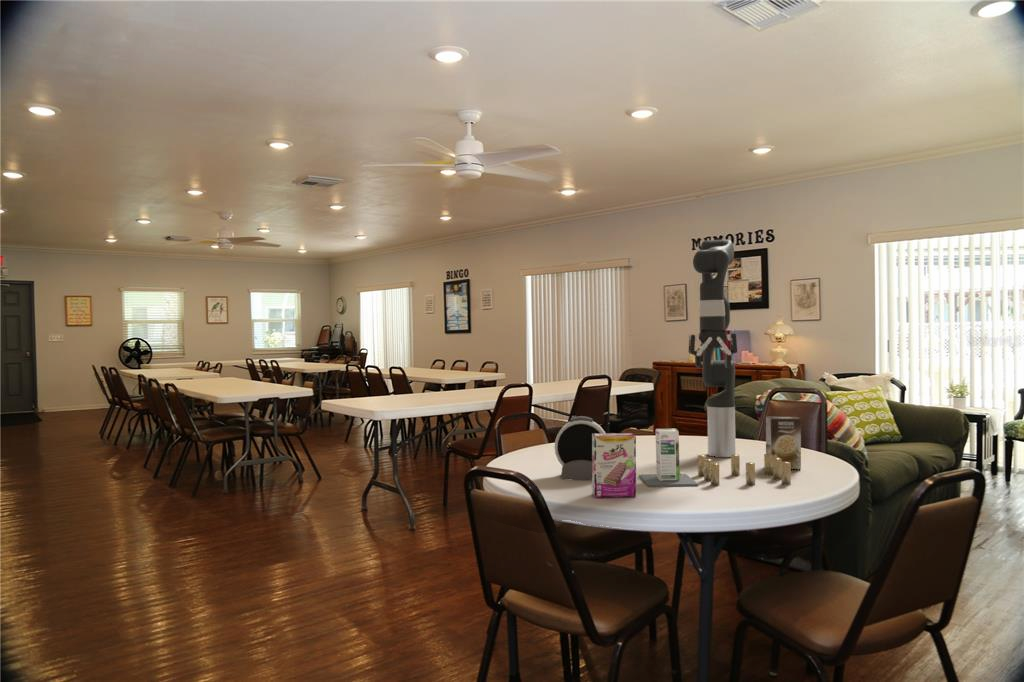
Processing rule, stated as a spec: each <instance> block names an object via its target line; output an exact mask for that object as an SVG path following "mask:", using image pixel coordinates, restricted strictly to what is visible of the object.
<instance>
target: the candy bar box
mask: <svg viewBox="0 0 1024 682" xmlns="http://www.w3.org/2000/svg"><path fill="white" fill-rule="evenodd" d="M636 436H637V435H635V434H634V433H621V432H620V433H606V434H592V480H591V490H592V492H591V493H592V495H593V497H594V498H597V499H598V498H600V499H601V498H603V499H604V498H606V499H607V498H610V499H611V498H636V496H637V459H636V457H637V453H636V452H637V450H636V449H637V447H636V446H637V444H636V443H637V442H636V441H637V439H636Z"/></svg>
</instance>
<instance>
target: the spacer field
mask: <svg viewBox="0 0 1024 682" xmlns="http://www.w3.org/2000/svg"><path fill="white" fill-rule="evenodd" d="M763 461H764V463H763V466H764V475H765V474H767V475H766V476H772V480H774V479H781V485H784V484H790V485H791V484H792V481H791V479H792V477H791V472H792V470H791V466H790V462H781V458H773V455H772V454H766V453H765V454H764V456H763ZM730 462H731V463H730V468H731V469H730V474H731V476H733V475H735V476H736V475H739V476H740V475H741V473H740V454H732V455H731V457H730ZM772 474H773V475H772ZM698 475H699V476H698ZM697 476H698V477H703V480H704V481H705V480H711V481H710V486H712V485H719V486H720V463H717V462H713V459H712V458H707V455H706V454H698V455H697ZM735 476H734V477H735ZM736 477H737V476H736ZM745 484H747V486H756V463H755V462H745Z"/></svg>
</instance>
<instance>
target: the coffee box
mask: <svg viewBox="0 0 1024 682" xmlns="http://www.w3.org/2000/svg"><path fill="white" fill-rule="evenodd" d="M765 454H772V455H773V458H781V462H790V466H791V469H798V470H797V471H800V470H799V469H801V470H802V418H800V417H796V416H775V415H774V416H769V415H768V416H767V415H766V416H765Z"/></svg>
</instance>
